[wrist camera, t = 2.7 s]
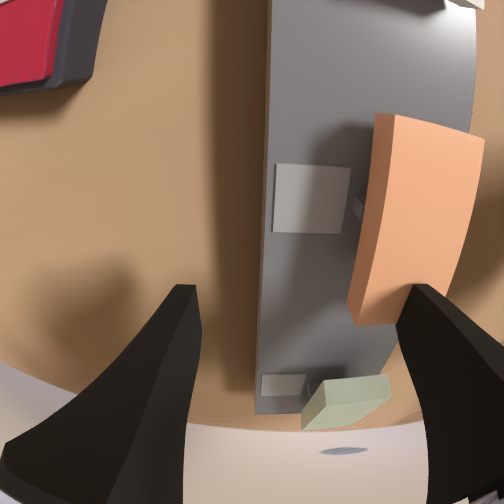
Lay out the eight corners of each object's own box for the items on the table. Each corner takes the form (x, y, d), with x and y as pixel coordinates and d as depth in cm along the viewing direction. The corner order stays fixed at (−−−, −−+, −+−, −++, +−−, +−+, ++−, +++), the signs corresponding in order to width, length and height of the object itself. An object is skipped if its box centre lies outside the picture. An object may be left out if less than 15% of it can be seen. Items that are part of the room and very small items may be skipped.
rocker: (387, 373, 13) (392, 397, 12) (348, 408, 18) (350, 425, 17) (323, 380, 13) (326, 405, 12) (300, 412, 18) (301, 430, 17)
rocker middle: (460, 132, 8) (484, 139, 6) (421, 299, 11) (435, 319, 10) (375, 112, 8) (395, 114, 6) (346, 302, 11) (355, 326, 10)
